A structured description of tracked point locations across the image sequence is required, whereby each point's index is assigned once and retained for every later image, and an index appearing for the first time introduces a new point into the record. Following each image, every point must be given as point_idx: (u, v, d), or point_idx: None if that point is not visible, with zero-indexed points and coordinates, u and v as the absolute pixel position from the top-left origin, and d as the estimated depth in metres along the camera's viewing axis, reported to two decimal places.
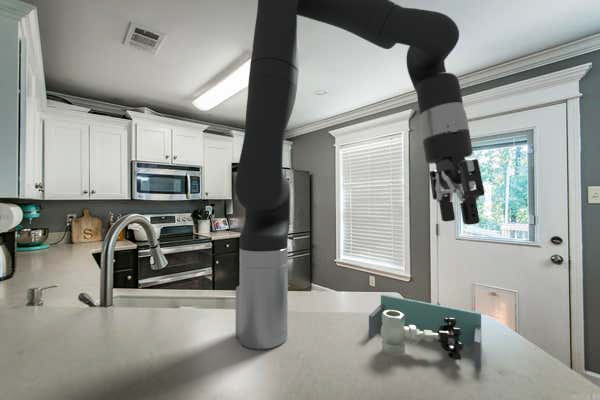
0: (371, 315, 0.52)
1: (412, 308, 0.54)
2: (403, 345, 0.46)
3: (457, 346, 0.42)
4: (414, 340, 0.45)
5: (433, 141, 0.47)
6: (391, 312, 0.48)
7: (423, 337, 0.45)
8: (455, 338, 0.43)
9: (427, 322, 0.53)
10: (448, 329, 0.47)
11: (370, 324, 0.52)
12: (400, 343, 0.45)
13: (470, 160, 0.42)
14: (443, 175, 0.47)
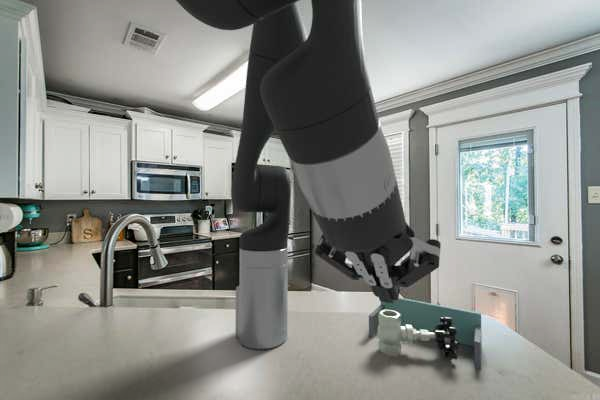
0: (371, 315, 0.52)
1: (412, 308, 0.54)
2: (399, 345, 0.46)
3: (453, 345, 0.42)
4: (411, 339, 0.45)
5: None
6: (388, 312, 0.48)
7: (419, 336, 0.46)
8: (451, 337, 0.43)
9: (427, 322, 0.53)
10: (444, 328, 0.47)
11: (370, 324, 0.52)
12: (396, 343, 0.45)
13: None
14: None
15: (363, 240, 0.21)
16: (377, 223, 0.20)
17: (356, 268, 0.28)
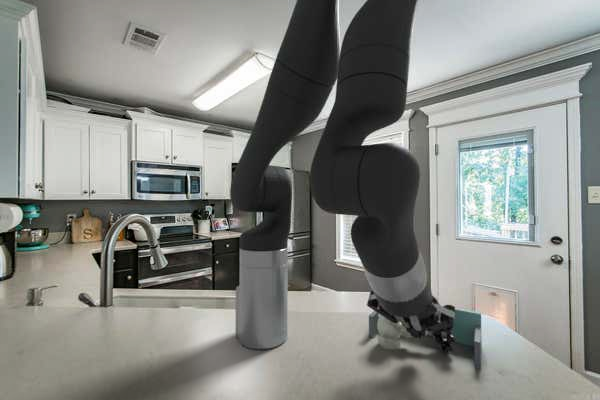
0: (371, 315, 0.52)
1: None
2: (398, 338, 0.48)
3: (449, 339, 0.44)
4: (409, 333, 0.47)
5: None
6: None
7: None
8: (447, 331, 0.45)
9: None
10: None
11: (370, 324, 0.52)
12: (395, 336, 0.47)
13: None
14: None
15: (406, 312, 0.35)
16: (416, 304, 0.34)
17: (397, 318, 0.41)
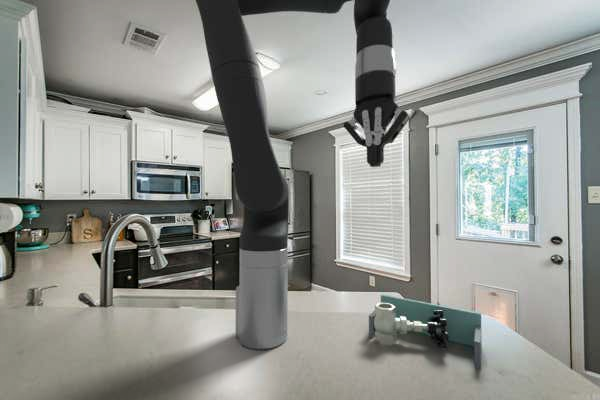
0: (371, 315, 0.52)
1: (412, 308, 0.54)
2: (394, 335, 0.50)
3: (443, 335, 0.45)
4: (404, 330, 0.48)
5: (381, 75, 0.49)
6: (384, 305, 0.52)
7: (413, 327, 0.49)
8: (442, 328, 0.47)
9: None
10: (437, 320, 0.50)
11: (370, 324, 0.52)
12: (391, 333, 0.49)
13: (408, 115, 0.49)
14: (377, 111, 0.50)
15: None
16: None
17: (385, 128, 0.53)
